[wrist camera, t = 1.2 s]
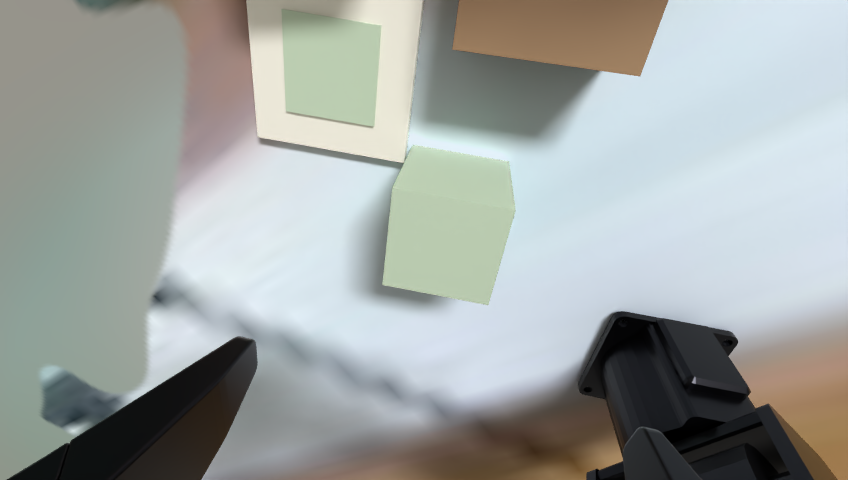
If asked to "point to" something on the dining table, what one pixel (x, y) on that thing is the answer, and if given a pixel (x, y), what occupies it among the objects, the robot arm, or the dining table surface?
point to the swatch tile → (336, 73)
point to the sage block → (448, 224)
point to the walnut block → (562, 31)
